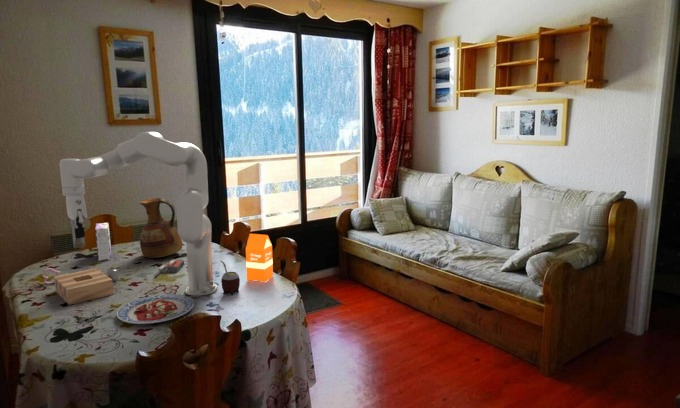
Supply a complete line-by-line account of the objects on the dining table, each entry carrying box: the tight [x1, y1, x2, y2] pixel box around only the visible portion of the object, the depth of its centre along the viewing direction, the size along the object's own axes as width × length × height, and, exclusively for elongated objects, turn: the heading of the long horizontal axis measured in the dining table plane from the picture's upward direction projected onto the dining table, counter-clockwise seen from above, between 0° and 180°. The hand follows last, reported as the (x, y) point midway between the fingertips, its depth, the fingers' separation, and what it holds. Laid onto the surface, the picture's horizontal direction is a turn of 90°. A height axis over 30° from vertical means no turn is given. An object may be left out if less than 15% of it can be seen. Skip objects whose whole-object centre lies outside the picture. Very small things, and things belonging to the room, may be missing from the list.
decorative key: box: [41, 267, 81, 285], centre depth 199 cm, size 7×1×20 cm
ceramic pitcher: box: [139, 197, 183, 259], centre depth 233 cm, size 20×20×30 cm
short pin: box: [107, 268, 120, 284], centre depth 198 cm, size 4×4×5 cm
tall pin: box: [70, 218, 86, 249], centre depth 181 cm, size 4×4×12 cm
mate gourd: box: [220, 260, 241, 296], centre depth 183 cm, size 8×8×15 cm
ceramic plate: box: [116, 293, 195, 325], centre depth 166 cm, size 26×26×3 cm
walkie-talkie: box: [153, 258, 185, 278], centre depth 212 cm, size 9×4×20 cm
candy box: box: [95, 222, 112, 262], centre depth 233 cm, size 14×6×16 cm, turn 25°
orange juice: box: [245, 233, 274, 282], centre depth 199 cm, size 8×9×20 cm
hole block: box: [53, 267, 115, 306], centre depth 185 cm, size 20×16×6 cm
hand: (78, 236), depth 181 cm, fingers closed on tall pin, 4 cm apart
